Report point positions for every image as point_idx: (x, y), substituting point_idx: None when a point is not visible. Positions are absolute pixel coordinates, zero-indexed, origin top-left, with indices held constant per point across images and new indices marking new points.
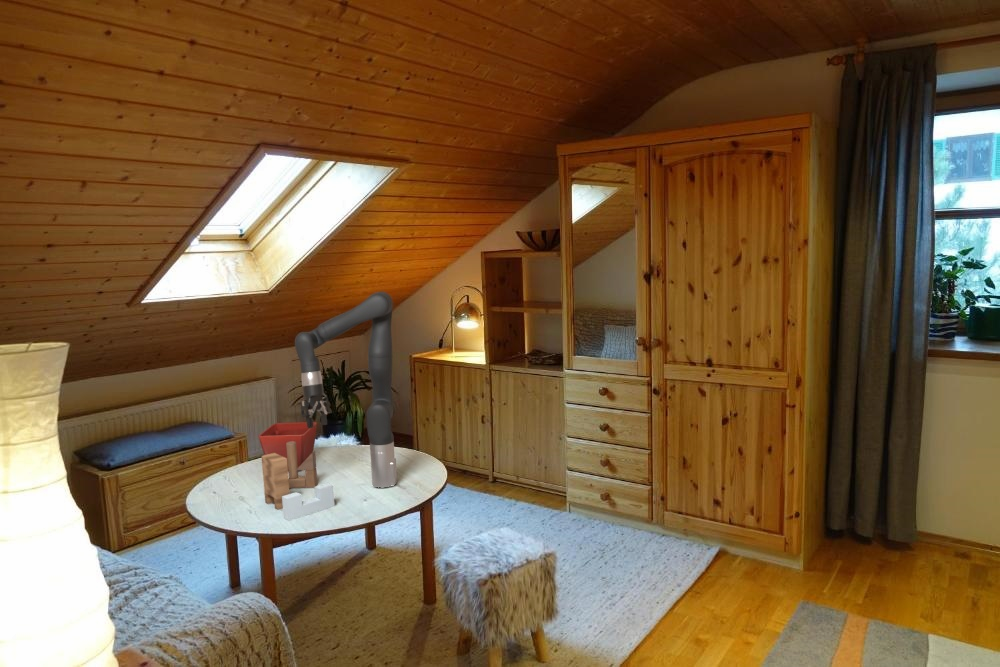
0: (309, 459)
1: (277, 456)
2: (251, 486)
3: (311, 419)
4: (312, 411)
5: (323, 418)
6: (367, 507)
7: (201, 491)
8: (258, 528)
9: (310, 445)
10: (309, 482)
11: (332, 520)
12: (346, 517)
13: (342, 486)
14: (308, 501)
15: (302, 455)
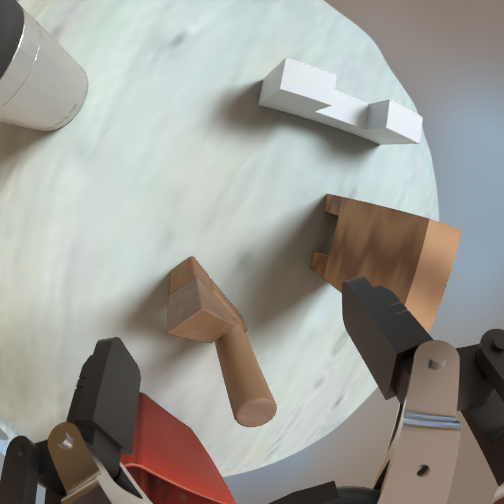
0: (209, 305)
1: (423, 278)
2: (281, 389)
3: (405, 331)
4: (444, 421)
5: (116, 403)
6: (219, 3)
7: (342, 417)
8: (427, 155)
9: None
10: (204, 274)
11: (327, 29)
12: (297, 10)
13: (130, 190)
14: (344, 107)
15: (138, 415)
